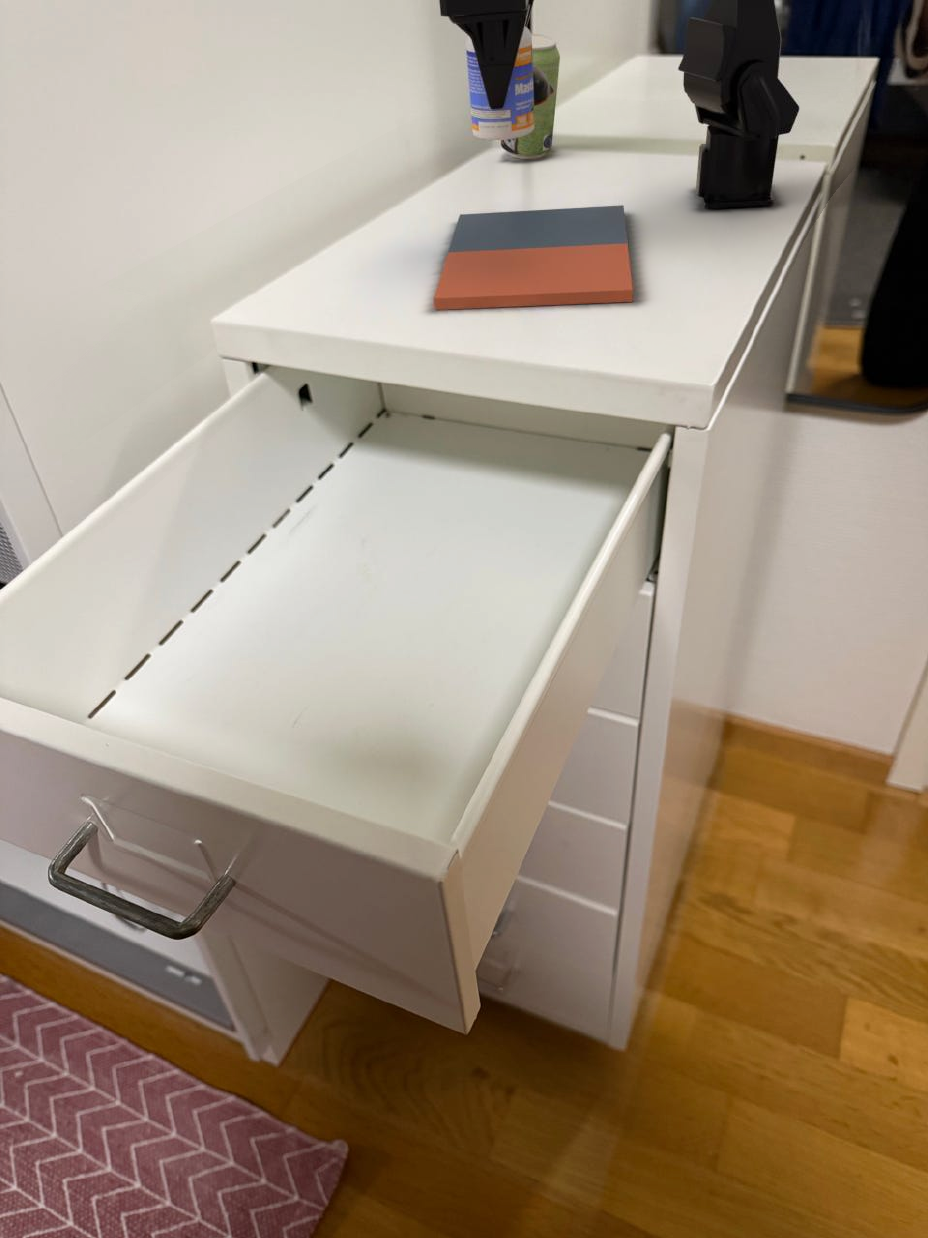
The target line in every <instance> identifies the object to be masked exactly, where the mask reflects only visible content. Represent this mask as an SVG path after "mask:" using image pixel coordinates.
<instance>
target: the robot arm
mask: <svg viewBox="0 0 928 1238" xmlns="http://www.w3.org/2000/svg"><path fill="white" fill-rule="evenodd" d="M534 3H535V0H439V12H440V13H439V14H440V17H447V18H448V19H449V21H450V22H451V23H452V24H453V25H456V26H457V27H458V28H459V29H460V30H461V31H462V32H464V33H465V35H467V37H468V36H469V37H470V38H471V40H472V44H473V47H474V51H475V54H476V58H477V61H478V65H479V69H480V73H481V76H482V80H483V84H484V88H485V91H486V95H487V99H488V103H489V106H490V108H491V109H502V108H503V106H504V103H505V99H506V96H507V92H508V88H509V84H510V80H511V77H512V73H513V69H514V65H515V61H516V58H517V54H518V50H519V46H520V42H521V38H522V35H523V31H524V27H527V28H528V24H529V20H530V16H531V13H532V10H533V6H534ZM684 44H685V45H684V52H683V55H682V59H681V61H680V63H679V65H678V67H677V69H678V71H680V72H682V73H683V80H682V81H683V84H682V85H683V91H684V93H685V94H686V96H687V97H688V98H689V100H690V102H691V103H692V104H694V108H695V114H696V118H697V122H698V123H699V124H701V125H707V126H706V134H705V135H706V137H705V143H701V144H700V145H699V147H698V158H697V159H698V160H697V170H696V180H695V181H696V182H695V190H696V193H697V196H698V198H701V201H702V205H703V207H704V208H706V209H719V208H720V209H721V208H736V207H737V208H739V207H757V206H759V207H760V206H772V205H774V203H775V196H774V195H773V193H772V188H773V181H774V174H775V165H776V159H777V153H778V145H779V138H780V136H781V135H786V134H789V133H791V132H792V129H793V127H794V124H795V121H796V120H797V117H798V114H799V112H800V106H799V104H798V103H797V101H796V100H795V99H794V98H793V96H792V95H791V94H790V93H789V91H788V89H787V88H786V86H784V84H783V83H782V81H781V80H780V78H779V72H780V61H781V51H782V49H781V48H782V34H781V29H780V24H779V18H778V12H777V7H776V1H775V0H712V1H711V3H710V5H709V7H708V8H707V10H706V12H705V14H704V15H703V17H702V19H701V18H697V17H692V16H691V17H689V18H688V20H687V22H686V27H685V43H684Z"/></svg>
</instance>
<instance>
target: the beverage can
mask: <svg viewBox="0 0 928 1238" xmlns="http://www.w3.org/2000/svg"><path fill="white" fill-rule="evenodd" d="M531 36H532V60H533V89H534V129H533V131H532V132H531V133H529V134H527V135H525V136H522V137H518V138H514V139H508V140H500V147H501V148H502V149H503V150H504V151H506V153H507V155H509V156H511V157H513V158H517V159H521V160H522V159H523V160H534V159H538V158H541V157H543V156H544V155H545V154H546V153H549V151H550V150H551V149H552V147H553V146H552V145H553V135H554V125H555V114H556V103H557V94H558V83H559V73H560V61H561V55H560V51H559V49H558V48H557V47H558V46H557V40H556V39H555V38H553V37H551V36H548V35H544V34H538V33H537V34H535V33H531Z"/></svg>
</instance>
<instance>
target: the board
mask: <svg viewBox="0 0 928 1238" xmlns="http://www.w3.org/2000/svg"><path fill="white" fill-rule="evenodd" d="M625 215H626V214H625V207H624V205H605V206H588V207H587V206H586V207H584V206H583V207H571V208H570V207H568V208H551V209H549V208H548V209H533V210H531V209H530V210H514V211H497V212H479V213H463V214H459V216H458V219H457V223H456V225H455V229H454V231H453V236H452V238H451V241H450V245H449V248H448V250H447V254H446V257H445V260H444V264H443V266H442V270H441V274H440V276H439V280H438V283H437V287H436V289H435V292H434V295H433V309H434V310H435V311H439V310H440V311H441V310H444V311H445V310H446V311H447V310H465V309H466V310H467V309H468V310H469V309H491V308H513V307H537V306H539V307H540V306H560V305H562V306H563V305H564V306H565V305H585V304H586V305H587V304H589V305H590V304H608V303H611V304H612V303H632V302H633V296H634V288H633V277H632V269H631V261H630V252H629V243H628V242H629V241H628V233H627V226H626V225H627V224H626V216H625Z"/></svg>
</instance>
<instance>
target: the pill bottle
mask: <svg viewBox="0 0 928 1238" xmlns="http://www.w3.org/2000/svg"><path fill="white" fill-rule="evenodd" d="M531 34H532V32H531V30H530V29H529V28H528V26H527V27H524V31H523V35H522V38H521V42H520V46H519V50H518V54H517V58H516V61H515V65H514V69H513V73H512V77H511V80H510V84H509V88H508V92H507V96H506V99H505V103H504V106H503V108H502V109H491V108H490V106H489V103H488V99H487V95H486V91H485V88H484V84H483V80H482V76H481V73H480V69H479V65H478V61H477V58H476V54H475V51H474V47H473V44H472V40H471V38H470V37H469V36H468V35H467V37H466V39H465V53H466V54H465V55H466V65H467V77H468V78H467V79H468V90H469V101H470V102H469V104H470V116H471V117H470V118H471V130H472V134H473V136H474V137H475V138H477V139H480V140H484V141H485V140H486V141H501V140H508V139H514V138H518V137H522V136H525V135H527V134H529V133H531V132H532V131H533V129H534V89H533V60H532V36H531Z"/></svg>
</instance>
